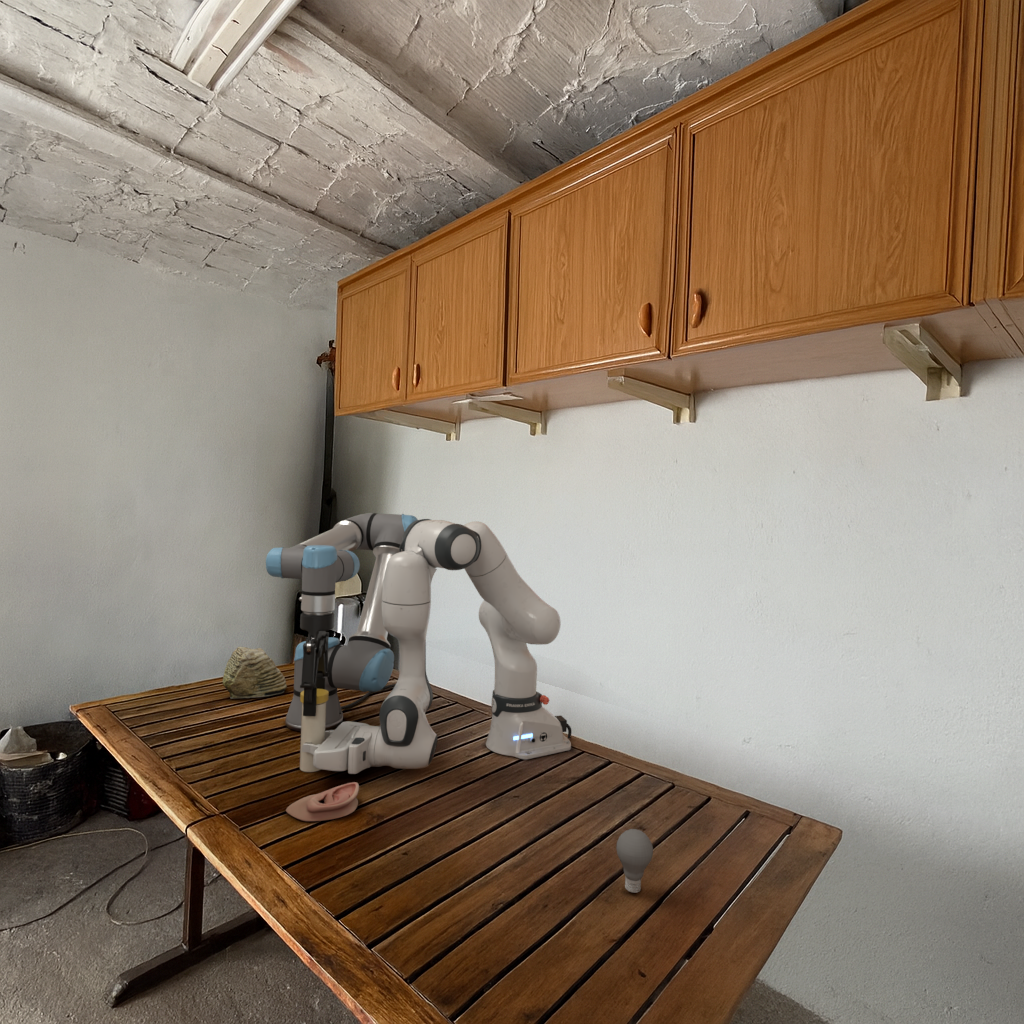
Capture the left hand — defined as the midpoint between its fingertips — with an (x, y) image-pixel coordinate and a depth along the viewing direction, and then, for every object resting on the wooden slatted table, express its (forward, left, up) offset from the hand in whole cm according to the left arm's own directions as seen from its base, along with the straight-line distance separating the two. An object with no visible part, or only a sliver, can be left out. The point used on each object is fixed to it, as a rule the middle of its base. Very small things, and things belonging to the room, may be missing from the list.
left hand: (313, 709), depth 148 cm
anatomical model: (+10, +19, -14) cm, 25 cm away
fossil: (-18, -58, -14) cm, 62 cm away
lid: (0, 0, +4) cm, 4 cm away
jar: (0, 0, -14) cm, 14 cm away
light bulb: (-9, +79, -14) cm, 80 cm away
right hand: (0, -1, -7) cm, 7 cm away
